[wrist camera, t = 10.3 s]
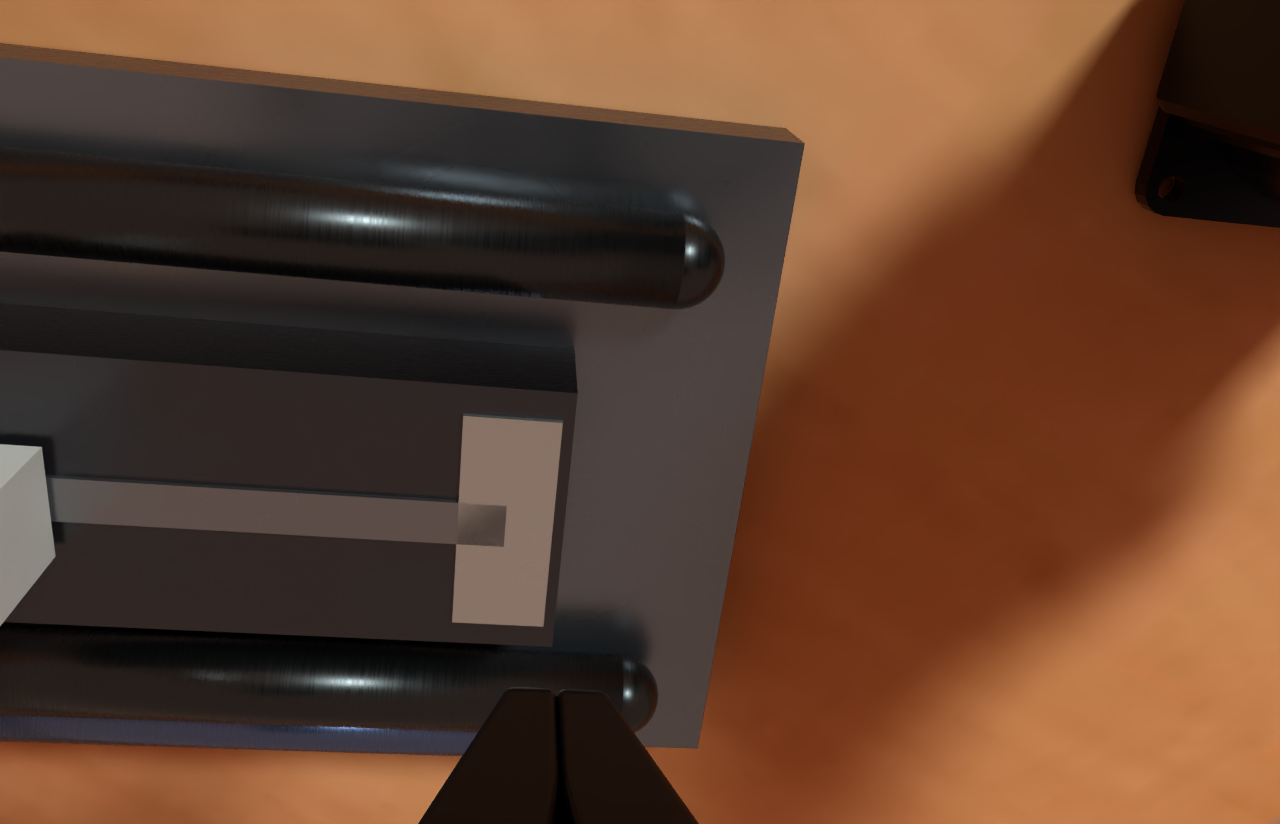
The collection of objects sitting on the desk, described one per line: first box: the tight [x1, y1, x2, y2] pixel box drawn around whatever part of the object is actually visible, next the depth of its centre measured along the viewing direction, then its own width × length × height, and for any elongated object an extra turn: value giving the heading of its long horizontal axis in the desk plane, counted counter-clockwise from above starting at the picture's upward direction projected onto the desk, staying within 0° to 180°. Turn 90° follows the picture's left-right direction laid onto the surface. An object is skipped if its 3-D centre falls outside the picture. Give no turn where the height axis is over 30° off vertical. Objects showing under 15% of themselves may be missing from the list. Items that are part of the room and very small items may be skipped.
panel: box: [0, 43, 805, 756], centre depth 19 cm, size 18×13×4 cm
